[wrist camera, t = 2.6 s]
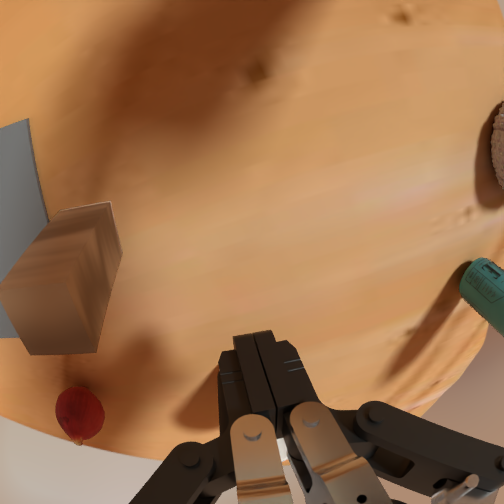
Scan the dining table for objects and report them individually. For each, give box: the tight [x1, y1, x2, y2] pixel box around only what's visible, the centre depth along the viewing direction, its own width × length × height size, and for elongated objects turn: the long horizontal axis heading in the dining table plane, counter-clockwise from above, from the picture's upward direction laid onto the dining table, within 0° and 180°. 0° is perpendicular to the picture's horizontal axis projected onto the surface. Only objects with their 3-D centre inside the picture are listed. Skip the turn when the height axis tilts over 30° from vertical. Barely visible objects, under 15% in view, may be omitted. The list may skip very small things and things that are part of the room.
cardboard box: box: [0, 201, 123, 355], centre depth 17 cm, size 4×4×11 cm
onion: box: [55, 386, 105, 446], centre depth 27 cm, size 6×6×8 cm
